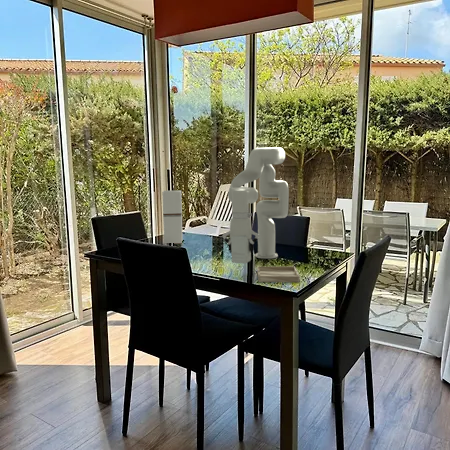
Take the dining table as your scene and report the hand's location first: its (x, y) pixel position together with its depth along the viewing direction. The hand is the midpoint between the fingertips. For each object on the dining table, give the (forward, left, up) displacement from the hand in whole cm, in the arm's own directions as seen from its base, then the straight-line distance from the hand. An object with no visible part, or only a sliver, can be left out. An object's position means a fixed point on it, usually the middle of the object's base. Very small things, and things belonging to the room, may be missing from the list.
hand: (241, 252), depth 195 cm
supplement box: (0, 0, -5) cm, 5 cm away
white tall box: (-72, -45, -11) cm, 86 cm away
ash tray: (+5, +17, -11) cm, 20 cm away
